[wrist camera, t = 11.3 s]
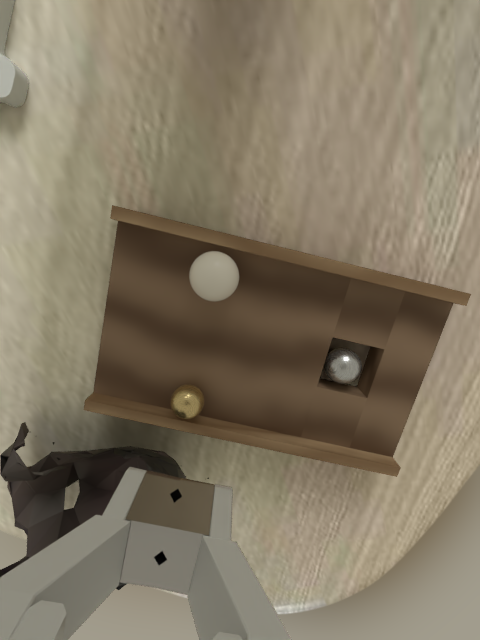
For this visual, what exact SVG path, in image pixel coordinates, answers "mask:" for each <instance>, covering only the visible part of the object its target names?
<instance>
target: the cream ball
mask: <svg viewBox="0 0 480 640" xmlns="http://www.w3.org/2000/svg"><path fill="white" fill-rule="evenodd" d="M189 279H190V284H191V286H192V288H193V290H194V291H195V293H196V294H197V295H198V296H200V297H201V298H203V299H205V300H208V301H214V302H216V301H222V300H224V299H226V298H228V297H229V296H231V295H232V294H233V293H234V291H235V290H236V288H237V286H238V283H239V270H238V267H237V265H236V263H235V262H234V260H233V259H232V258H231V257H229V256H228V255H227V254H225V253H222V252H218V251H210V252H206V253H203V254H202V255H200V256H199V257H197V258H196V259H195V261H194V262H193V264H192V266H191V268H190V273H189Z"/></svg>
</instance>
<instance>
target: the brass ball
mask: <svg viewBox="0 0 480 640" xmlns="http://www.w3.org/2000/svg"><path fill="white" fill-rule="evenodd" d="M170 404H171V409H172V411H173V412H174V414H175V415H176V416H178V417H179V418H182V419H191V418H194V417H196V416H197V415H198V414H199V413H200V412H201V411H202V409H203V406H204V396H203V393H202V392H201V390H200V389H199V388H197V387H196V386H194V385H183V386H180V387H179V388H177V389H176V390H175V391H174V393H173V394H172V397H171V402H170Z"/></svg>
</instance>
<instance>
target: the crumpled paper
mask: <svg viewBox="0 0 480 640" xmlns="http://www.w3.org/2000/svg"><path fill="white" fill-rule="evenodd" d="M28 431H29V430H28V428H27V426H26V423H25V422H24V423H22V424H21V427H20V430H19V433H18V436H17V438H16V440H15V442H14V443H13V444H12V445H11V446H10V447H9V448H8V449H7V450H6V451H5V452H3V453H2V454H1V476H2V477H3V478H4V480H5V481H8V490H9V492H10V495H11V497H12V502H13V509H14V516H15V527H18V528H20V529H23V530H24V531H25V533H26V534H27V555H26V556H25V557H24V558H23V559H21V560H20V561H18V562H16V563H14V564H12V565H10V566H8V567H6V568H4V569H2V570H0V577H2V576H3V575H5V574H6V573H8V572H9V571H11V570H12V569H14V568H15V567H17V566H18V565H20V564H22V563H23V562H25V561H26V560H28V559H29V558H31V557H32V556H34V555H35V554H37V553H38V552H40V551H41V550H43V549H44V548H46V547H48V546H49V545H51V544H52V543H54V542H55V541H57V540H58V539H60V538H61V537H63V536H64V535H66V534H67V533H69V532H70V531H72V530H74V529H75V528H77V527H78V526H80V525H81V524H83V523H84V522H86V521H87V520H89V519H90V518H92V517H93V516H95V515H100V516H102V515H103V513H104V511H105V509H106V507H107V505H108V504H109V502H110V500H111V498H112V496H113V494H114V492H115V490H116V489H117V487H118V485H119V483H120V481H121V479H122V477H123V476H124V474H125V472H126V470H127V469H128V468H129V467H134V468H138V469H142V470H146V471H147V470H148V471H153V472H157V473H162V474H166V475H170V476H175V477H179V478H184V479H186V476H185V475H184V473H183V472H182V470H181V469H180V467H179V466H178V464H177V463H176V461H175V460H174V459H172V458H171V457H170V456H168V455H167V454H166V453H165V452H161V451H154V450H148V449H142V448H136V447H131V446H130V447H120V448H109V449H100V450H91V451H67V452H51V453H50V454H49V455H48V456H46V457H45V458H43V459H42V460H40V461H39V462H38V463H36V464H35V465H33V466H31V467H26V466H25V464H24V463H23V461H22V460H21V458H20V457H19V455H18V454H17V453H16V450H18V449H19V448H20V447H23V446H25V442H24V439H25V437H26V436H27V433H28ZM53 444H54V442H53ZM153 451H154V452H153ZM207 479H209V478H207ZM77 480H79V487H80V493H79V496H78V498H77V501H76V504H75V506H74V508H71V509H67V510H64V499H65V488H66V487H67V486H69V485H71V484H72V483H74V482H75V481H77ZM126 584H127V583H120V582H119V585H118V586H117V588H116V589H118V590H120V589H121V588H122V587H123V586H124V585H126Z"/></svg>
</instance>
